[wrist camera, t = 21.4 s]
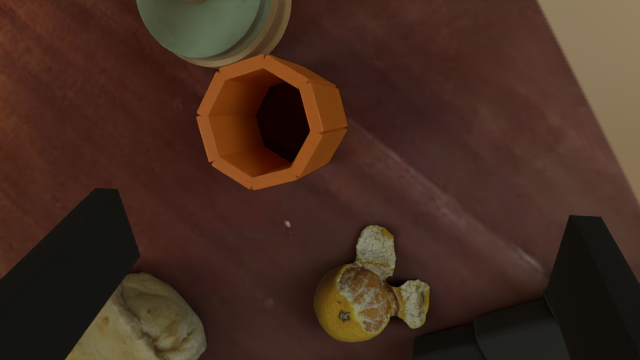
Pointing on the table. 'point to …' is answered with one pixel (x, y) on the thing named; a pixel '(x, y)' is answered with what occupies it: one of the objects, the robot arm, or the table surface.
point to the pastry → (143, 325)
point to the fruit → (368, 292)
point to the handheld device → (500, 336)
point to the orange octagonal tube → (243, 130)
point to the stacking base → (216, 28)
